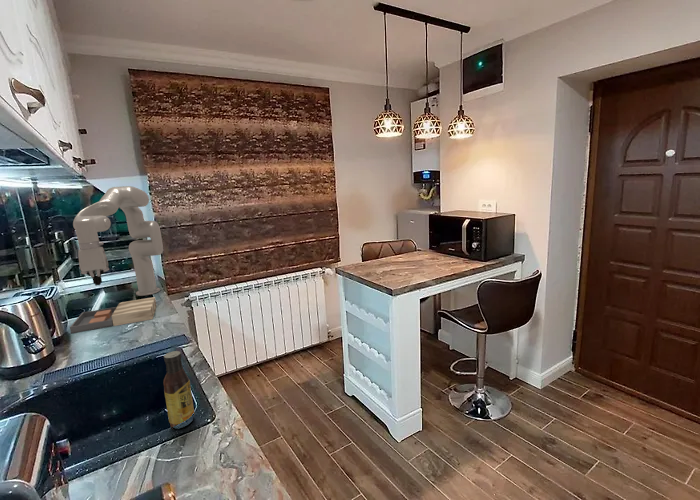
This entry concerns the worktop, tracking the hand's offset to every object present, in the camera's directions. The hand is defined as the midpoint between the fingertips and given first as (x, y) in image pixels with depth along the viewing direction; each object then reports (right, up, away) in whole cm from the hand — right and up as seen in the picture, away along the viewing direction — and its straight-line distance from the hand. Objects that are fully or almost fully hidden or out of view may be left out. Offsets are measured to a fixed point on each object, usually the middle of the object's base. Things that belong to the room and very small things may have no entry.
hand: (98, 284), depth 167 cm
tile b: (-1, -16, +1) cm, 17 cm away
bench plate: (+10, -16, +13) cm, 23 cm away
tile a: (-5, -15, +10) cm, 19 cm away
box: (-5, -19, +7) cm, 20 cm away
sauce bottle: (+71, -31, -69) cm, 104 cm away
